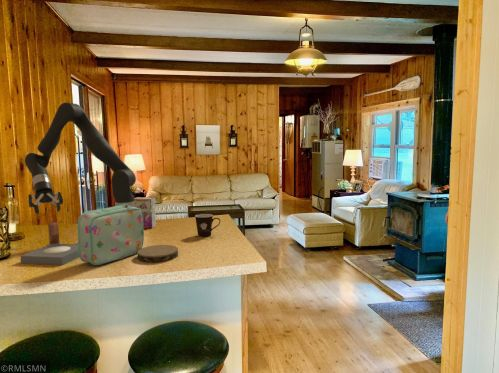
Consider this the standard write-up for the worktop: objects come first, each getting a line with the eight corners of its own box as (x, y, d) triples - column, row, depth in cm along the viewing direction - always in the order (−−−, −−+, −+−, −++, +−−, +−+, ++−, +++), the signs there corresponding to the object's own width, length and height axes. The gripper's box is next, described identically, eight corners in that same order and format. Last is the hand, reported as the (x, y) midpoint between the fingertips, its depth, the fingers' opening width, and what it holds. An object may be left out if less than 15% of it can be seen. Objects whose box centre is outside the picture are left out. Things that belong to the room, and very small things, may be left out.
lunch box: (131, 248, 163) (128, 200, 161) (148, 251, 158) (145, 201, 155) (76, 265, 140) (72, 209, 138) (93, 269, 135) (89, 211, 132)
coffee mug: (192, 236, 182) (191, 216, 180) (201, 232, 190) (200, 213, 188) (213, 238, 177) (213, 218, 176) (221, 234, 185) (221, 214, 184)
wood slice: (157, 265, 139) (157, 258, 139) (129, 259, 147) (128, 252, 147) (186, 255, 152) (186, 247, 152) (158, 249, 161) (158, 243, 160)
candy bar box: (133, 227, 204) (132, 198, 202) (138, 225, 209) (137, 197, 207) (152, 228, 201) (150, 198, 199) (156, 226, 206) (155, 197, 204)
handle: (65, 245, 169) (64, 221, 168) (56, 249, 163) (54, 224, 162) (53, 244, 170) (51, 221, 169) (43, 248, 164) (41, 224, 163)
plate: (90, 251, 158) (90, 244, 158) (62, 265, 141) (62, 256, 140) (53, 250, 161) (52, 243, 161) (21, 263, 144) (20, 255, 143)
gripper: (25, 181, 174) (31, 208, 166) (59, 179, 183) (65, 205, 175) (25, 191, 179) (30, 218, 171) (57, 189, 187) (64, 214, 180)
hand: (48, 211), depth 173 cm, fingers open, 8 cm apart
